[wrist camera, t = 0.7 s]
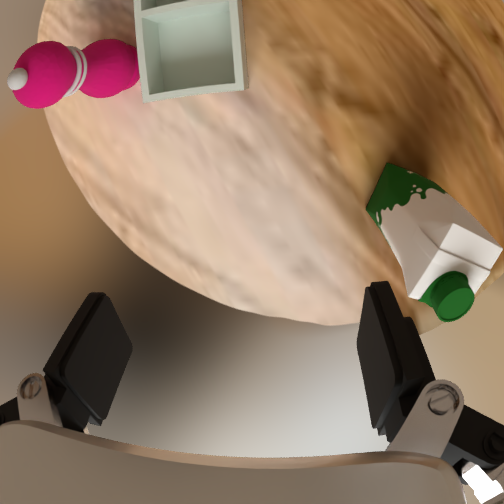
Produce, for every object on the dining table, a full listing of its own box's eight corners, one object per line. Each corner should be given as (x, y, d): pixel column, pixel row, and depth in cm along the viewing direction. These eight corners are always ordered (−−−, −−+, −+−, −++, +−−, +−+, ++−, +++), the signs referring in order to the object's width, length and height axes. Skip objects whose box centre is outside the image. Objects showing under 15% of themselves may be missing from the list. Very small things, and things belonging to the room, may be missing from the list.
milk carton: (356, 212, 40) (406, 316, 23) (383, 152, 35) (465, 225, 19) (407, 232, 41) (469, 331, 24) (435, 177, 36) (522, 257, 19)
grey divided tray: (151, -43, 23) (132, -57, 18) (236, -58, 22) (230, -78, 17) (161, 98, 34) (143, 103, 29) (248, 88, 33) (244, 90, 28)
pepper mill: (158, 55, 31) (58, 51, 14) (129, 103, 34) (23, 141, 17) (115, 32, 29) (3, 24, 12) (89, 79, 32) (-25, 105, 15)
